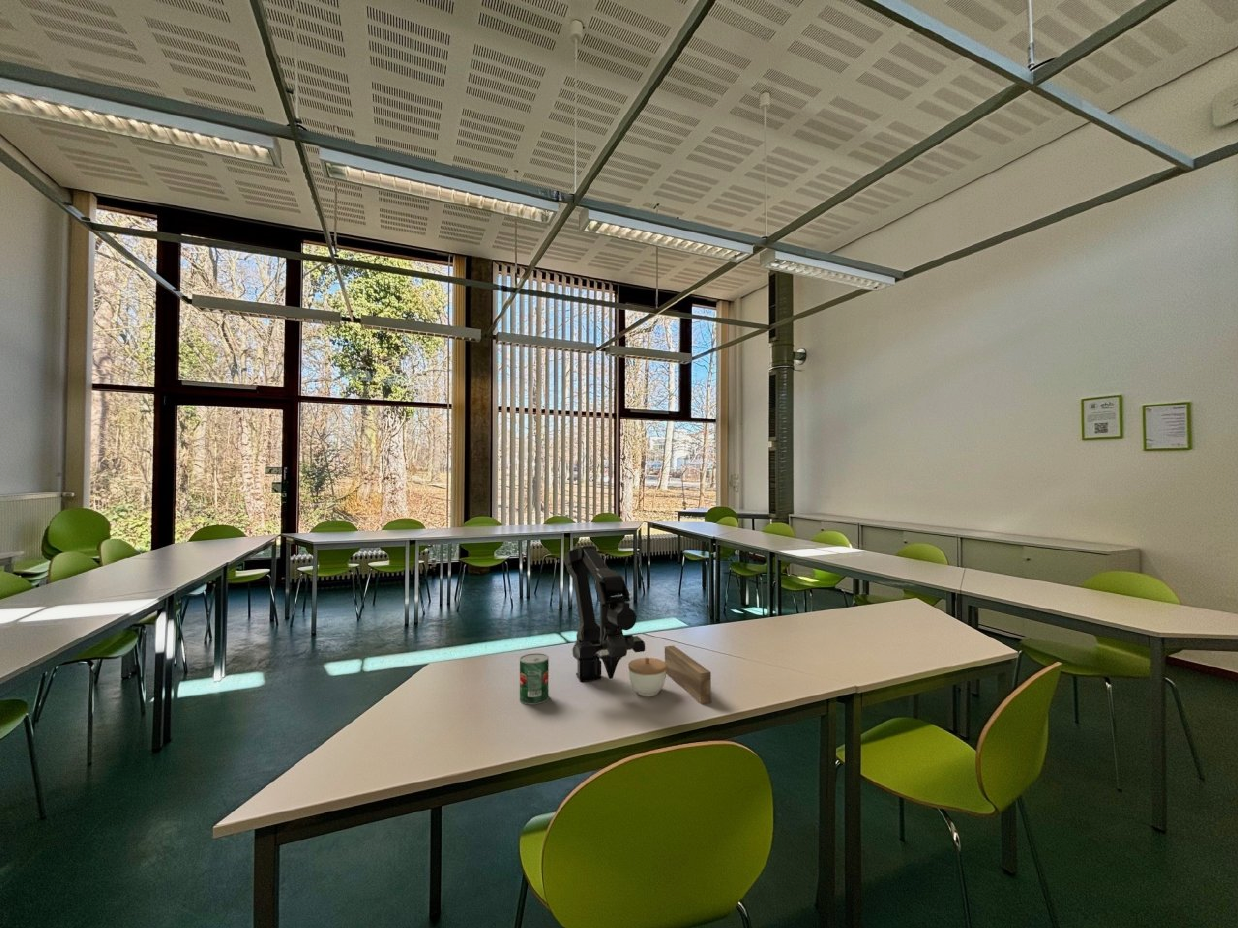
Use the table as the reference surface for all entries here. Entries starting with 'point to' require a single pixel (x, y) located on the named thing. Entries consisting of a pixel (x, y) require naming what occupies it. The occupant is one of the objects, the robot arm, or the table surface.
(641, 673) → the lidded jar
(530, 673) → the canned tomato
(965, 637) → the table surface
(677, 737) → the table surface
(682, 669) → the walnut board
